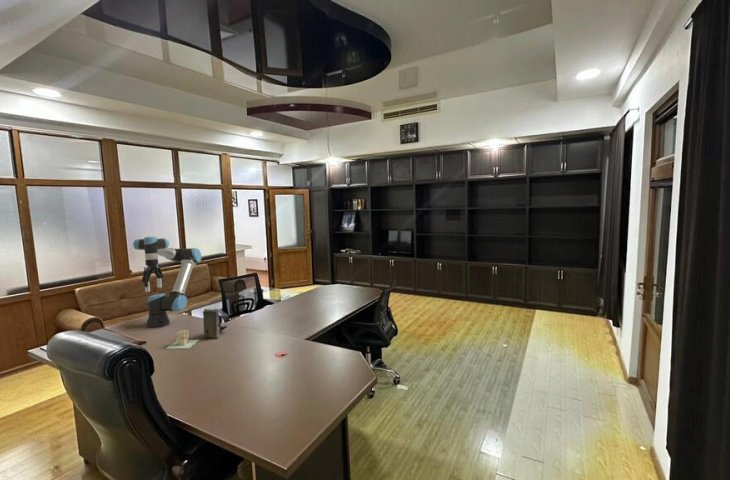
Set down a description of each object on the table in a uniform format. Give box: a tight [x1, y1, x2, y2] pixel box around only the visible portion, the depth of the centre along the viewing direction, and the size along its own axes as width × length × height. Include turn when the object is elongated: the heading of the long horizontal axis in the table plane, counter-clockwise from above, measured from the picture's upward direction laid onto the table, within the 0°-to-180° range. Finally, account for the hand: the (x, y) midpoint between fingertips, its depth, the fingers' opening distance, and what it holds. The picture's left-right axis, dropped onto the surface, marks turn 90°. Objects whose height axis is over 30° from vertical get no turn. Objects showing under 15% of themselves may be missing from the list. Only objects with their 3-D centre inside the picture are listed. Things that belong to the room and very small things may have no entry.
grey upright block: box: [202, 308, 228, 339], centre depth 234 cm, size 10×16×20 cm, turn 174°
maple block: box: [175, 329, 190, 345], centre depth 217 cm, size 5×5×8 cm
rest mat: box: [165, 339, 200, 350], centre depth 218 cm, size 14×14×1 cm
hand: (153, 289), depth 237 cm, fingers open, 13 cm apart
